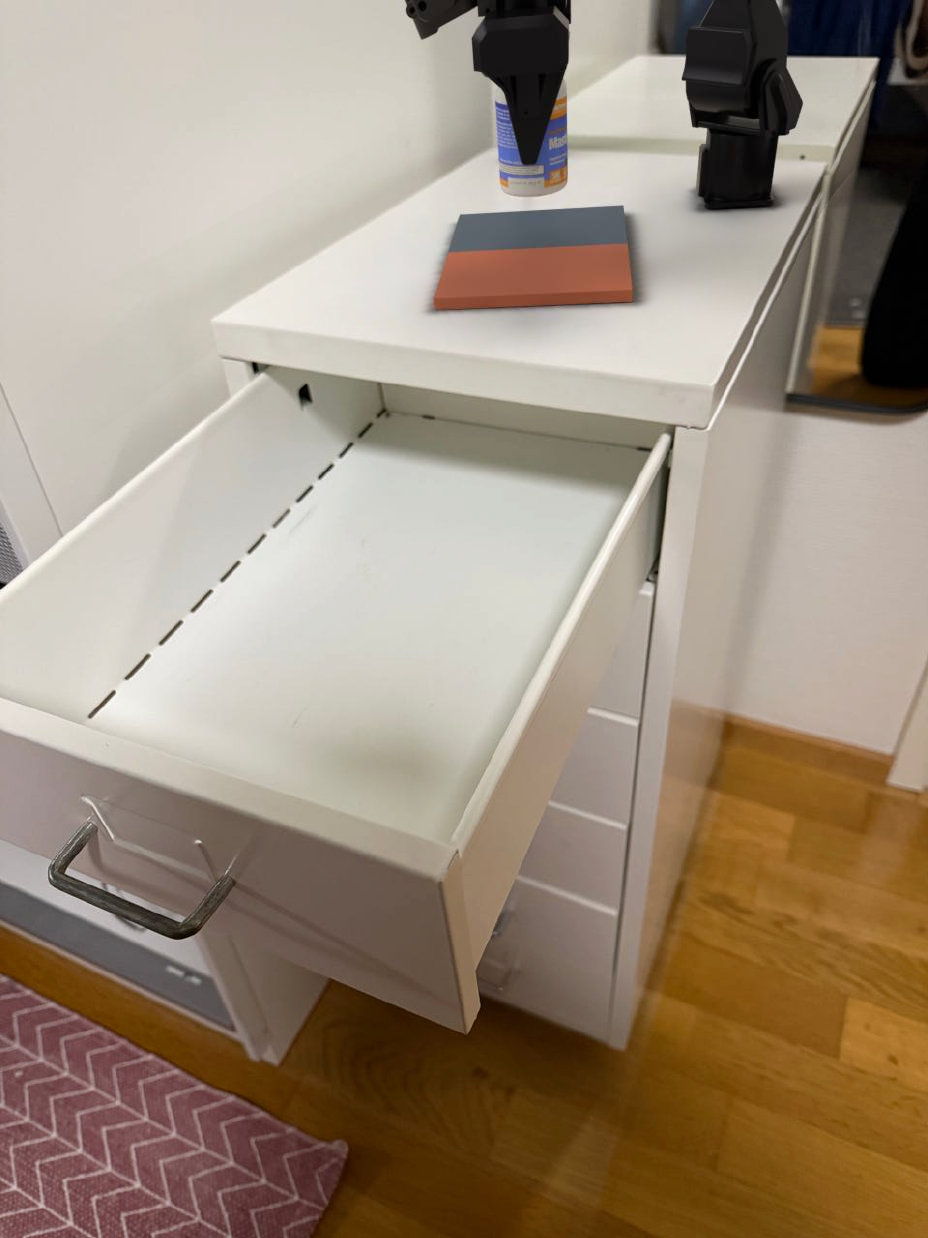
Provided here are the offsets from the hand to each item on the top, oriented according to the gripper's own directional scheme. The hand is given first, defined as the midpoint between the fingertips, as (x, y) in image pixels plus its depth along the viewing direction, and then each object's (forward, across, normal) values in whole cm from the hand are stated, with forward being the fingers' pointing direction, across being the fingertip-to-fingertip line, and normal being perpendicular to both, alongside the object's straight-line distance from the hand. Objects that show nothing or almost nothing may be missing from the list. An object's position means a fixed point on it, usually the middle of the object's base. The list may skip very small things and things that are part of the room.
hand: (530, 153), depth 68 cm
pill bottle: (+3, 0, 0) cm, 3 cm away
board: (+10, -5, 0) cm, 11 cm away
